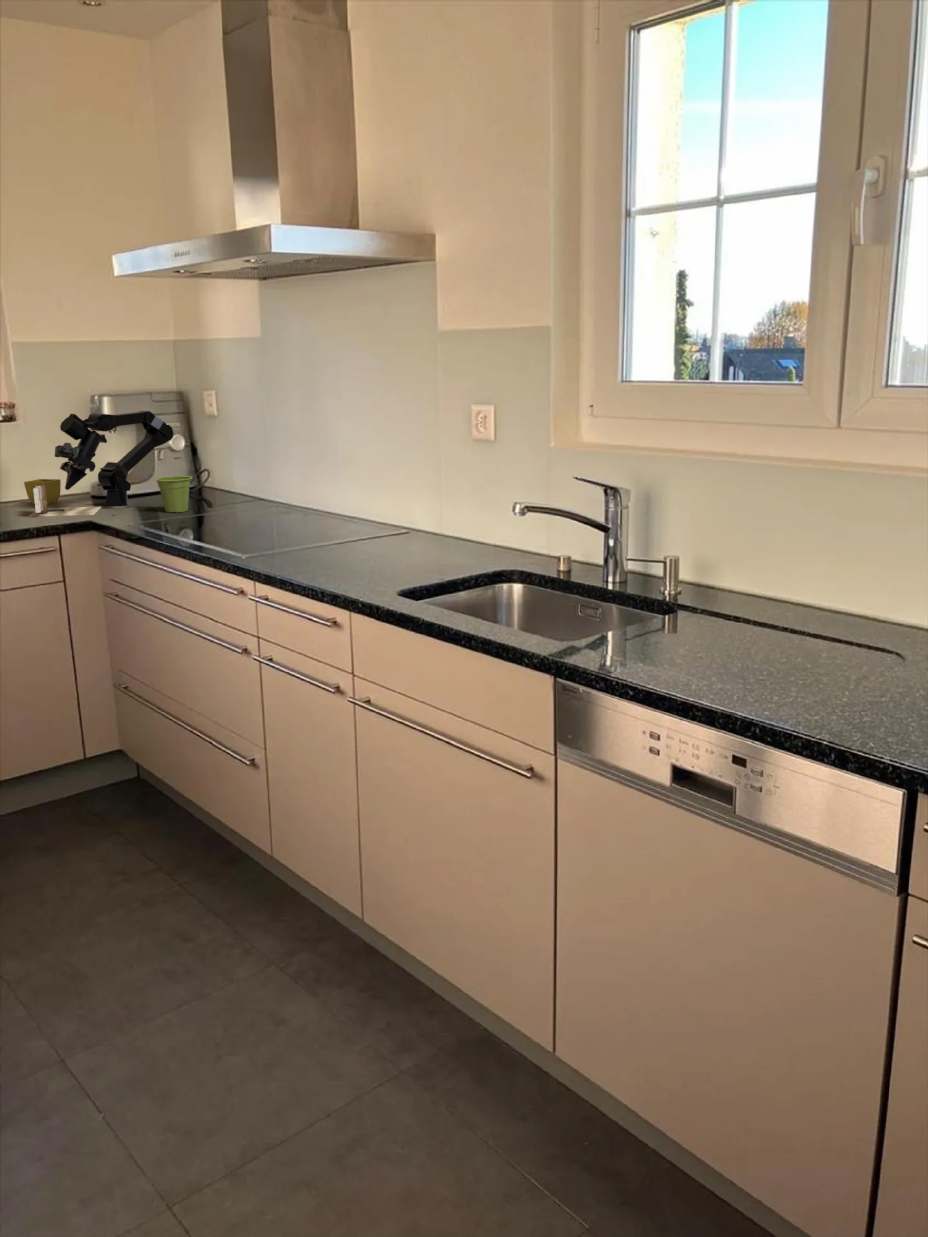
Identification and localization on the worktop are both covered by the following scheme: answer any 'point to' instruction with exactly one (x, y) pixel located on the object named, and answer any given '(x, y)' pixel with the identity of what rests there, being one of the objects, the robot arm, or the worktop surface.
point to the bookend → (42, 500)
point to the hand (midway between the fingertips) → (66, 489)
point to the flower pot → (51, 489)
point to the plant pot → (175, 492)
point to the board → (69, 511)
